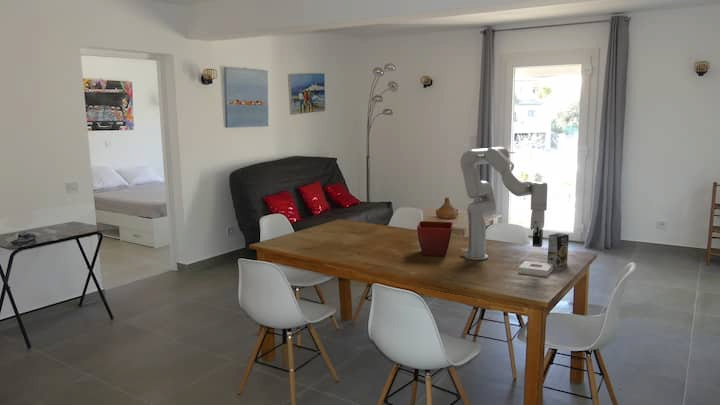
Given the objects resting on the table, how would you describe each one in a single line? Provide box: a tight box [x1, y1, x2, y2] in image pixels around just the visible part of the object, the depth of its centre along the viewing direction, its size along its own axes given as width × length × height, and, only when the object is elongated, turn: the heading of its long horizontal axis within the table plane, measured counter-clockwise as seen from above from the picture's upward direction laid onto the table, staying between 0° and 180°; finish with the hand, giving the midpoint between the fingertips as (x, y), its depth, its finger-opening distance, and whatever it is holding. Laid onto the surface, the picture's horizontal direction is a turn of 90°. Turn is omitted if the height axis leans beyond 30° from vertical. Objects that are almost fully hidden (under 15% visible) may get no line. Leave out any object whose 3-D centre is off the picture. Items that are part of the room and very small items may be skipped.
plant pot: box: [416, 220, 454, 257], centre depth 318 cm, size 19×19×17 cm
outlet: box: [517, 260, 554, 277], centre depth 281 cm, size 14×14×3 cm
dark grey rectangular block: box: [531, 229, 544, 248], centre depth 278 cm, size 4×4×8 cm
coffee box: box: [546, 232, 570, 268], centre depth 293 cm, size 9×6×16 cm
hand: (537, 242), depth 279 cm, fingers closed on dark grey rectangular block, 4 cm apart
